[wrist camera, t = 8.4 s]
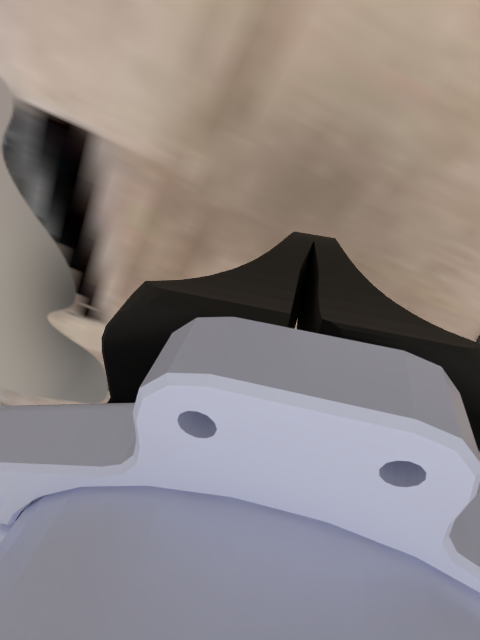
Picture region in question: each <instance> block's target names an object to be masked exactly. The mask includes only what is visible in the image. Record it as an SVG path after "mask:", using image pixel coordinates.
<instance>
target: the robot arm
mask: <svg viewBox="0 0 480 640" xmlns="http://www.w3.org/2000/svg"><path fill="white" fill-rule="evenodd" d="M297 318H298V321H297ZM296 321H297V329H294V328H295V325H296ZM102 354H103V359H104V365H105V370H106V375H107V381H108V386H109V391H110V397H111V398H110V399H109V401H108V402H107V403H104V404H61V405H17V406H3V405H0V640H480V344H479V343H476V342H474V341H471V340H469V339H466V338H464V337H461V336H458V335H456V334H453V333H451V332H448V331H446V330H444V329H441V328H439V327H437V326H435V325H433V324H431V323H429V322H427V321H425V320H423V319H421V318H420V317H418V316H416V315H414V314H412V313H411V312H409V311H407V310H406V309H404V308H403V307H401V306H400V305H398V304H396V303H395V302H394V301H392V300H391V299H389V298H388V297H387V296H385V295H384V294H383V293H382V292H381V291H379V290H378V289H377V288H376V287H375V286H373V285H372V284H371V283H370V282H369V281H368V280H367V279H366V278H365V277H364V276H363V274H362V273H361V272H360V271H359V270H358V269H357V268H356V267H355V265H354V264H353V263H352V262H351V260H350V259H349V258H348V256H347V255H346V254H345V252H344V251H343V249H342V248H341V246H340V245H339V243H338V242H337V240H336V239H335V238H330V237H324V236H318V235H312V234H306V233H300V232H293V233H291V234H290V235H289V236H288V237H286V238H285V239H284V240H283V241H282V242H280V243H279V244H278V245H277V246H275V247H274V248H272V249H271V250H270V251H268V252H267V253H265V254H264V255H262V256H260V257H259V258H257V259H255V260H253V261H251V262H249V263H247V264H245V265H242V266H240V267H237V268H235V269H232V270H228V271H225V272H221V273H217V274H214V275H210V276H205V277H199V278H192V279H184V280H168V281H145V282H144V283H143V284H142V285H141V286H140V287H139V288H138V289H137V290H136V291H135V292H134V293H133V294H132V295H131V296H130V298H129V299H128V300H127V301H126V302H125V304H124V305H123V306H122V307H121V308H120V310H119V311H118V312H117V313H116V314H115V316H114V317H113V318H112V319H111V320H110V322H109V323H108V324H107V325H106V327H105V330H104V333H103V336H102Z"/></svg>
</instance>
